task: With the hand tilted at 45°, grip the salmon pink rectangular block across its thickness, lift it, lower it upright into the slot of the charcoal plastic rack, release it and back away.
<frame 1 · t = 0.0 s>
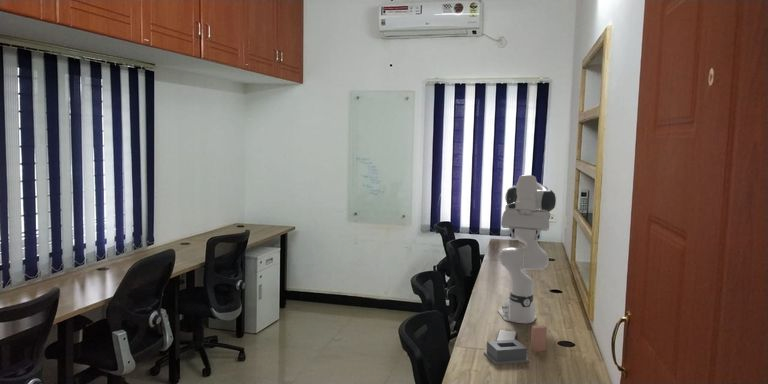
hand: (524, 238, 229), 54 cm above the table, tool tilted 30°, fingers open, 8 cm apart
salmon pink rectangular block: (537, 349, 247), on the table
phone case: (506, 339, 261), on the table
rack: (506, 357, 237), on the table
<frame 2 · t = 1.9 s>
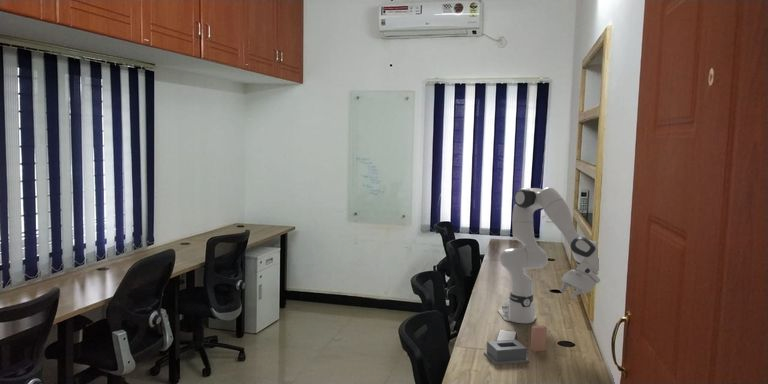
hand: (566, 294, 247), 26 cm above the table, tool tilted 45°, fingers open, 8 cm apart
nothing on the table moved.
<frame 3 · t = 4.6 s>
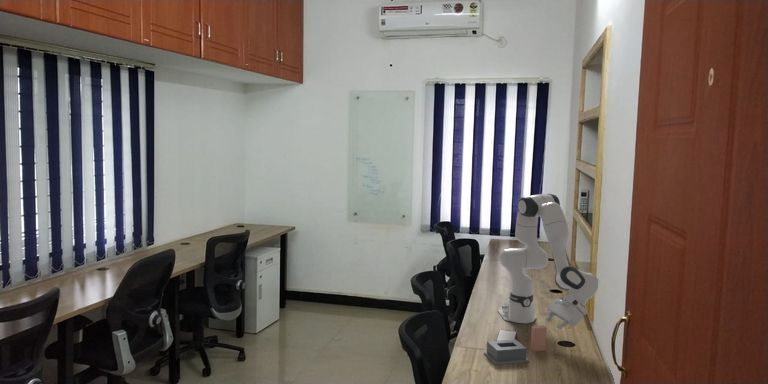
hand: (552, 324, 247), 12 cm above the table, tool tilted 45°, fingers open, 8 cm apart
nothing on the table moved.
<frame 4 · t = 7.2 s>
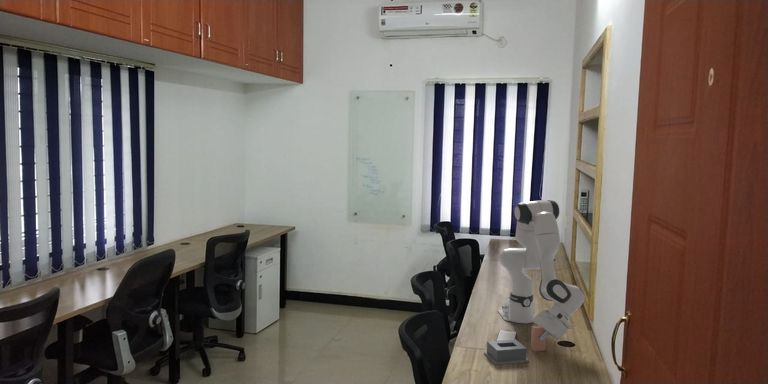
hand: (537, 337, 246), 6 cm above the table, tool tilted 45°, fingers closed on salmon pink rectangular block, 3 cm apart
salmon pink rectangular block: (537, 349, 247), on the table, touching gripper
everything else where it was.
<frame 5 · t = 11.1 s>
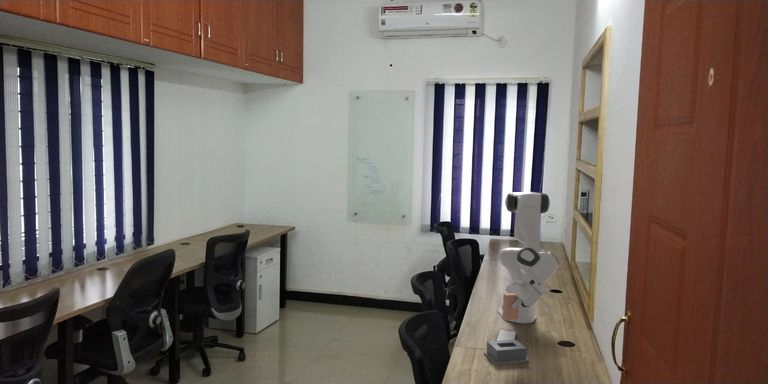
hand: (509, 305, 235), 24 cm above the table, tool tilted 45°, fingers closed on salmon pink rectangular block, 3 cm apart
salmon pink rectangular block: (510, 318, 235), point 18 cm above the table, touching gripper
everything else where it was.
when the fingers open (9 cm above the table, at t = 15.1 s): salmon pink rectangular block drops 2 cm, resting on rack.
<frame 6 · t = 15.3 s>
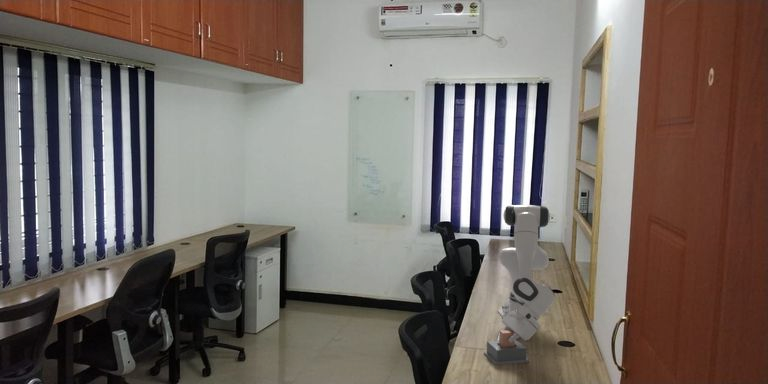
hand: (505, 338, 236), 9 cm above the table, tool tilted 45°, fingers open, 5 cm apart
salmon pink rectangular block: (506, 355, 237), point 1 cm above the table, touching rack
everything else where it was.
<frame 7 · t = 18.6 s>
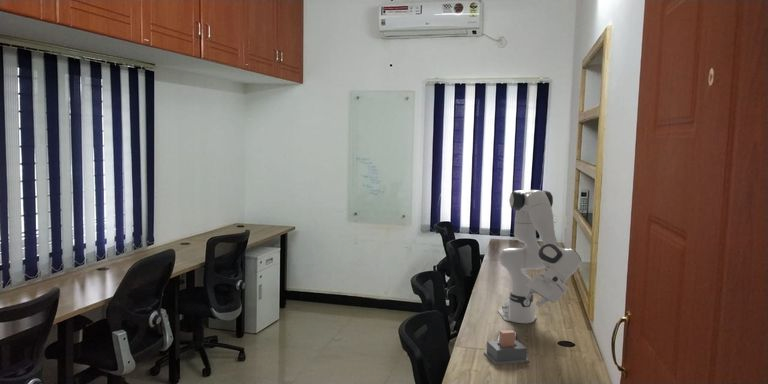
hand: (532, 301, 237), 25 cm above the table, tool tilted 45°, fingers open, 8 cm apart
nothing on the table moved.
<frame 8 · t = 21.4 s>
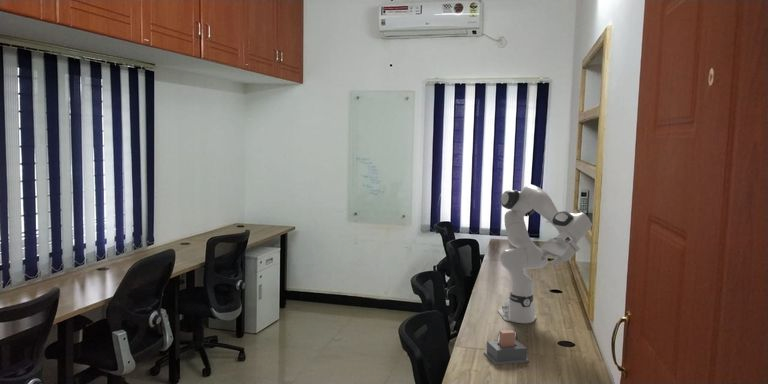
hand: (546, 261, 252), 39 cm above the table, tool tilted 45°, fingers open, 8 cm apart
nothing on the table moved.
at the end: salmon pink rectangular block 0.1 cm off-centre on the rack, point 1.0 cm above the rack's base; salmon pink rectangular block tilted 0°; the gripper is holding nothing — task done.
